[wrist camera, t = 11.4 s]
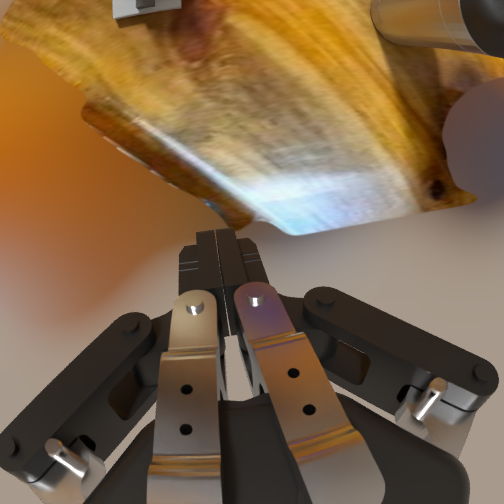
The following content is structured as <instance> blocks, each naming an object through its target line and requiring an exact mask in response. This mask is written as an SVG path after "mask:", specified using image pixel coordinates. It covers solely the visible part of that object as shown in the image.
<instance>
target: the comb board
mask: <svg viewBox="0 0 504 504" xmlns="http://www.w3.org/2000/svg"><path fill="white" fill-rule="evenodd" d="M173 9H181V0H113V19H115V20H117V19H121V18H126V17H131V16H136V15H141V14H146V13H152V12H158V11H165V10H173Z"/></svg>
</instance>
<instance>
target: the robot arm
mask: <svg viewBox="0 0 504 504" xmlns="http://www.w3.org/2000/svg"><path fill="white" fill-rule="evenodd" d="M370 11H371V17H372V20H373V23H374V25H375V27H376V29H377V30H378V31H379V33H380V34H381V35H382V36H383V37H384V38H385V39H387V40H388V41H390V42H392V43H394V44H397V45H404V46H419V47H432V48H442V49H450V50H458V51H465V52H472V53H478V54H484V55H489V56H494V57H499V58H503V59H504V0H372V2H371V9H370ZM216 238H217V246H218V253H217V247H216V240H215V234H214V230H209V231H202V232H196V239H197V245H190V246H184V248H183V250H182V251H181V252H180V254H179V297H178V298H177V299H176V300H175V302H174V304H173V309H172V310H171V311H169V312H168V313H166V314H165V315H162V316H160V317H157V318H154V319H152V320H150V318H149V317H148V316H147V315H145V314H143V313H138V312H131V313H127V314H124V315H122V316H120V317H119V318H118V319H116V320H115V321H114V322H113V323H112V324H111V325H110V326H109V327H108V328H107V329H106V330H104V331H103V332H102V333H101V334H100V335H99V336H98V337H97V338H96V339H95V340H94V341H93V342H92V343H91V344H90V345H89V346H88V347H86V348H85V349H84V350H83V351H82V352H81V353H80V354H79V355H78V356H77V357H76V358H75V359H74V360H73V361H72V362H71V363H70V364H69V365H68V366H67V367H66V368H65V369H64V370H63V371H62V372H61V373H60V374H59V375H58V376H57V377H56V378H55V379H53V380H52V382H51V383H50V384H49V385H47V386H46V387H45V388H44V389H43V390H42V392H41V393H40V394H39V395H37V397H35V399H34V400H33V401H32V402H31V403H30V404H29V405H28V406H27V407H26V408H25V409H24V410H23V411H22V412H21V413H20V414H19V415H18V416H17V417H16V418H15V419H14V420H13V421H12V422H11V423H10V424H9V425H8V426H7V427H6V429H4V431H3V432H2V433H1V434H0V467H1V468H3V469H4V470H5V471H7V472H9V473H10V474H12V475H14V476H15V477H17V478H18V479H19V480H20V481H22V482H24V483H25V484H27V485H29V487H30V488H31V489H32V490H33V491H34V492H35V494H36V495H37V496H38V497H39V499H40V500H41V501H42V502H43V503H44V504H468V503H469V495H470V482H469V478H468V474H467V472H466V470H465V468H464V466H463V464H462V463H461V462H460V461H459V460H458V458H459V456H460V454H461V451H462V449H463V446H464V444H465V441H466V439H467V436H468V433H469V431H470V428H471V425H472V422H473V419H474V416H475V414H476V411H477V410H478V409H479V408H480V407H481V406H482V405H483V404H484V403H485V402H486V401H487V399H488V398H489V397H490V396H491V395H492V394H493V393H494V392H495V390H496V389H497V387H498V383H499V377H498V373H497V371H496V369H495V367H494V366H493V365H492V364H491V363H490V362H488V361H487V360H485V359H483V358H481V357H479V356H477V355H475V354H472V353H470V352H468V351H466V350H464V349H462V348H460V347H458V346H456V345H453V344H451V343H449V342H447V341H445V340H443V339H441V338H439V337H437V336H434V335H432V334H430V333H428V332H426V331H424V330H422V329H420V328H417V327H415V326H413V325H411V324H409V323H406V322H405V321H403V320H401V319H398V318H396V317H394V316H392V315H390V314H388V313H386V312H384V311H381V310H379V309H377V308H375V307H373V306H371V305H368V304H367V303H364V302H362V301H360V300H358V299H356V298H354V297H352V296H350V295H347V294H345V293H343V292H341V291H339V290H337V289H334V288H331V287H316V288H313V289H311V290H309V291H308V292H307V293H306V294H305V296H304V298H295V297H287V296H283V295H281V294H279V293H277V291H276V290H275V288H274V287H272V286H271V285H270V284H269V281H268V278H267V275H266V272H265V269H264V267H263V264H262V261H261V258H260V255H259V253H258V249H257V246H256V244H255V243H254V242H252V241H251V240H250V239H249V238H243V239H236V235H235V231H234V228H233V227H232V228H224V229H216ZM218 255H219V260H218ZM219 263H220V266H219ZM220 271H221V272H220ZM221 277H222V279H221ZM222 284H223V285H222ZM223 290H224V292H223ZM224 295H225V300H224ZM225 302H226V307H225ZM226 308H227V313H228V319H229V325H230V331H231V335H237V336H238V341H239V349H240V354H241V358H242V361H243V365H244V368H245V371H246V374H247V378H248V381H249V384H250V387H251V391H252V394H253V398H251V399H249V400H245V401H229V400H228V392H227V377H226V360H225V339H224V337H226V336H229V330H228V322H227V315H226ZM339 340H340V341H339ZM341 341H342V342H341ZM343 342H344V343H343ZM345 343H346V344H345ZM347 344H348V345H347ZM349 345H350V346H349ZM351 346H352V347H351ZM353 347H354V348H353ZM358 350H359V351H358ZM360 351H361V352H360ZM362 352H363V353H362ZM364 353H365V354H364ZM329 380H330V381H332V382H333V383H335V384H337V385H338V386H340V387H342V388H344V389H345V390H347V391H349V392H351V393H353V394H354V395H356V396H358V397H360V398H362V399H364V400H366V401H367V402H369V403H371V404H373V405H375V406H376V407H378V408H380V409H382V410H384V411H386V412H388V413H390V414H392V415H394V416H395V421H396V424H397V425H396V424H394V423H392V422H391V421H389V420H387V419H385V418H384V417H382V416H380V415H378V414H377V413H375V412H373V411H371V410H370V409H368V408H366V407H365V406H363V405H361V404H360V403H358V402H356V401H354V400H353V399H351V398H349V397H347V396H345V395H343V394H340V393H337V392H335V391H334V389H333V388H332V385H331V384H330V382H329ZM155 402H156V415H155V419H154V420H153V421H151V422H150V423H149V424H147V425H146V427H144V428H143V429H142V430H141V431H140V432H139V434H138V435H137V436H136V437H135V439H134V440H133V441H132V443H131V444H130V445H129V446H128V448H127V449H126V450H125V451H124V453H123V454H122V455H121V456H120V458H119V459H118V460H117V461H116V463H115V464H114V465H113V466H112V468H111V469H110V470H109V471H108V473H107V474H106V469H105V464H104V461H105V460H106V459H107V458H108V457H109V455H110V454H111V453H112V452H113V450H115V448H116V447H117V446H118V445H119V444H120V443H121V442H122V440H123V439H124V438H125V437H126V436H127V434H128V433H129V432H130V431H131V430H132V429H133V428H134V426H135V425H136V424H137V423H138V422H139V421H140V419H141V418H142V417H143V416H144V415H145V414H146V412H147V411H148V410H149V409H150V408H151V406H152V405H153V404H154V403H155ZM105 474H106V475H105Z"/></svg>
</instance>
